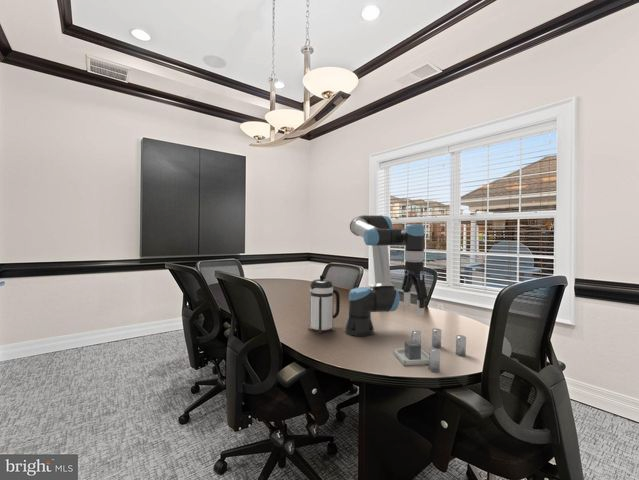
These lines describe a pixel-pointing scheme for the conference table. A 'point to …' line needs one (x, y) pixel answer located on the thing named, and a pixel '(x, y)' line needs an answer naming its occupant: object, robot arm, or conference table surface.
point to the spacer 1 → (416, 336)
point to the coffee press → (322, 304)
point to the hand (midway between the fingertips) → (413, 311)
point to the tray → (405, 361)
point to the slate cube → (412, 350)
